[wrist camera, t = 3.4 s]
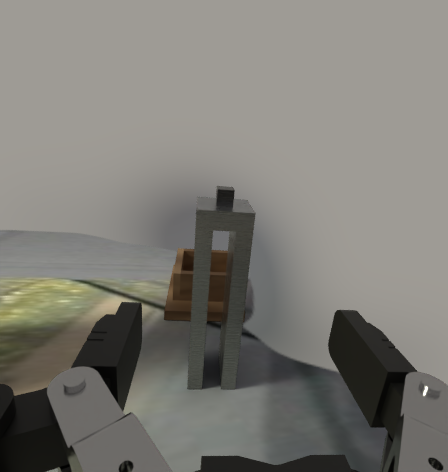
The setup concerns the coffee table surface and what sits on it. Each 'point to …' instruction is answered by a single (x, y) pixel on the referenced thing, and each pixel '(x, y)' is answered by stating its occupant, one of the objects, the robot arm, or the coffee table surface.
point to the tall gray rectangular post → (238, 259)
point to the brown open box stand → (183, 284)
